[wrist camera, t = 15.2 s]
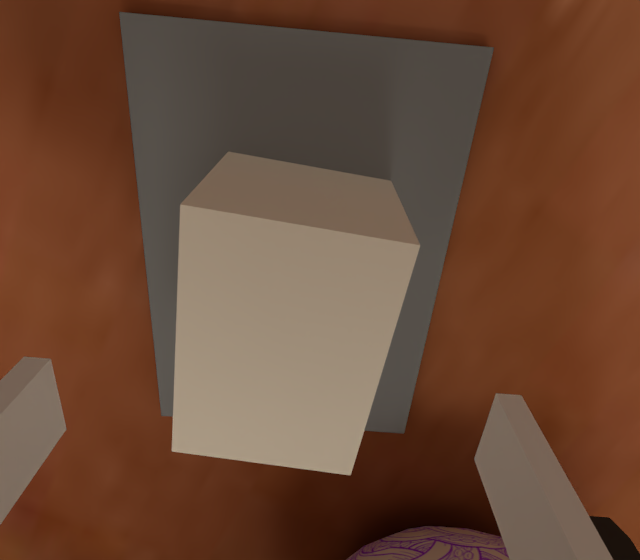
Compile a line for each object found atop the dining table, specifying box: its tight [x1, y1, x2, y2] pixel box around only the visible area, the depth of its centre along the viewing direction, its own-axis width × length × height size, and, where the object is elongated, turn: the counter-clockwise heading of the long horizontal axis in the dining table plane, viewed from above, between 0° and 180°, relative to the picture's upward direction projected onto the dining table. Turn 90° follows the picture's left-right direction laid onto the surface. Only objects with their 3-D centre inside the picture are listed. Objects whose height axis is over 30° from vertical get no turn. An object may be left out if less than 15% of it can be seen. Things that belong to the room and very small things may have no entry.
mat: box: [119, 12, 494, 433], centre depth 22 cm, size 20×14×1 cm
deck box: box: [172, 152, 420, 475], centre depth 19 cm, size 10×7×7 cm
